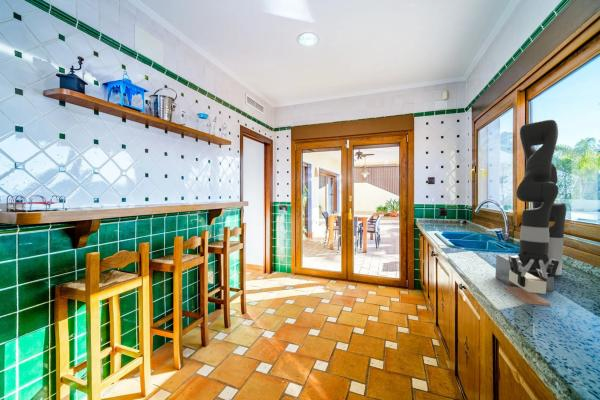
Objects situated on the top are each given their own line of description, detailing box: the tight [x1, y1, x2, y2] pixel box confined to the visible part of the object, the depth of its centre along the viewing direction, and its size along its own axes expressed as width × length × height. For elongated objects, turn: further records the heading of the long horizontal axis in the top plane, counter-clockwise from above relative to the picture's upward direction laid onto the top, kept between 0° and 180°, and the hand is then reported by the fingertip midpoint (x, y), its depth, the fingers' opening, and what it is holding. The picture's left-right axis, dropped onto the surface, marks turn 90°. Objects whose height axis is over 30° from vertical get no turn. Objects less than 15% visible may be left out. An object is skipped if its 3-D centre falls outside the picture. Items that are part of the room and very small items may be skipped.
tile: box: [504, 285, 552, 307], centre depth 94 cm, size 14×7×1 cm, turn 165°
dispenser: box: [495, 253, 555, 292], centre depth 106 cm, size 13×14×10 cm
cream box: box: [509, 270, 547, 294], centre depth 93 cm, size 12×5×4 cm, turn 167°
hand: (531, 286), depth 90 cm, fingers closed on cream box, 5 cm apart
